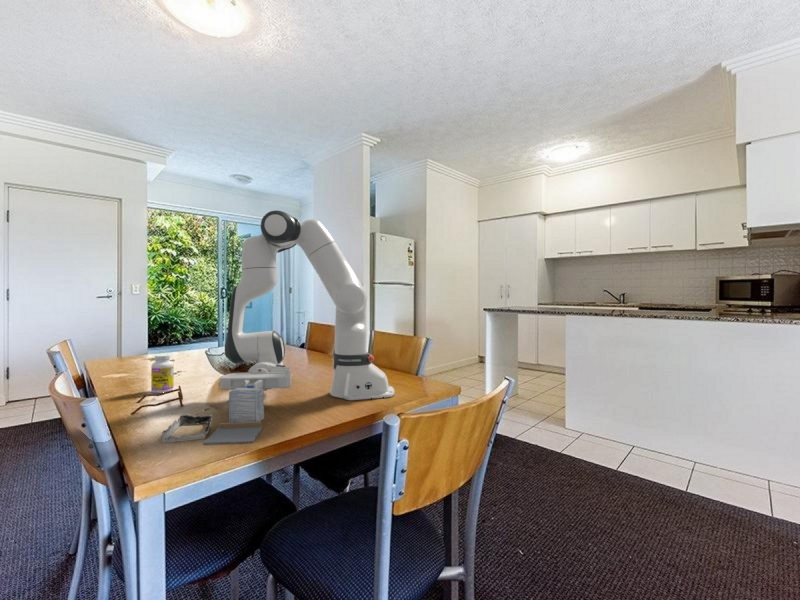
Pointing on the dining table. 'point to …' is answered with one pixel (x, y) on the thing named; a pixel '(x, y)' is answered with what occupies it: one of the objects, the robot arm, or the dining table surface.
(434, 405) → the dining table surface
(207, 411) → the dining table surface
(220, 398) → the dining table surface
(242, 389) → the medicine box
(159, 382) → the supplement bottle
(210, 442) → the tip mat
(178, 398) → the glasses
